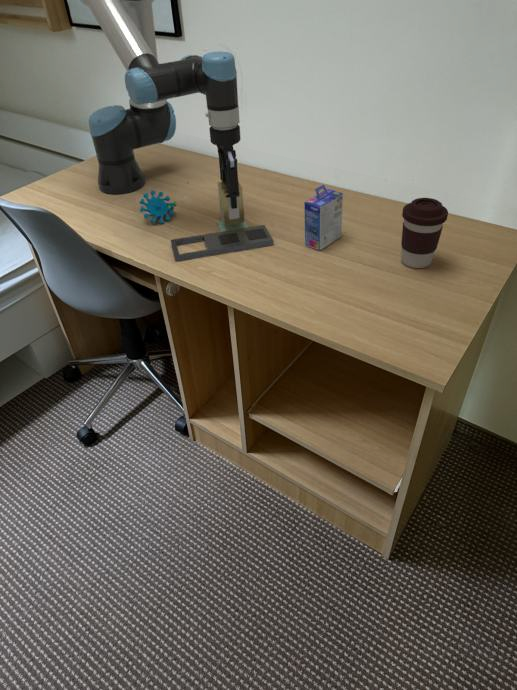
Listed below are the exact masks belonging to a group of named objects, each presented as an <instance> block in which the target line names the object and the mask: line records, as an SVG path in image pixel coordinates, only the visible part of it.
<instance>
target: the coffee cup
mask: <svg viewBox="0 0 517 690" xmlns="http://www.w3.org/2000/svg"><path fill="white" fill-rule="evenodd" d="M401 212H402V213H401V215H402V218H403V223H402V231H401V256H400V261H401V262H402V264H403V265H405V266H407V267H409V268H413V269H423V268H426V267H428V266H431V264H432V261H433V259H434V256H435V252H436V250H437V248H438V244H439V241H440V238H441V236H442V235H441V234H442V231H443V226H444V225H443V224H444V223H445V222H446V221H447V220H448V217H449V216H448V215H449V211H448V209H447V207H445V206H444V205H443V203H442V202H441V201H439V200H438V199H435V198H432V197H419V198H416V199H412V201H411V202H410V203H407V204H405V205H404V206H403V207H402V211H401Z"/></svg>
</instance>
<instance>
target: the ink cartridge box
mask: <svg viewBox="0 0 517 690" xmlns="http://www.w3.org/2000/svg"><path fill="white" fill-rule="evenodd" d="M314 190H315V193H316V195H314V196H312V197H311V198H308V200H305V201H304V244H305V247H309V248H311V249H314V250H316V251H321V250H323V249H325V248H326V247H327V246H329V245H330V244H332V243H333V242H336V241H337V240H338V239H339V238H341V237H342V227H343V225H342V224H343V203H344V201H343V200H344V193H343V192H340V191H336V190H333V189H330V188H326V186H325V184H322V185H319V187H316V188H315V189H314ZM321 190H322V191H321ZM320 191H321V192H320Z"/></svg>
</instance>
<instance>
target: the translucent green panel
mask: <svg viewBox="0 0 517 690" xmlns="http://www.w3.org/2000/svg"><path fill="white" fill-rule="evenodd" d="M216 226H217V227H218V230H219V232H222V231H229V230H235V229H241V228H247V227H249V224H248V223H247V221H246V219H245V218H244V222H243V223H237V224H230V225H225V224H224V222H223V220H218V221H216Z"/></svg>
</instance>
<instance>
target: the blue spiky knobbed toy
mask: <svg viewBox="0 0 517 690" xmlns="http://www.w3.org/2000/svg"><path fill="white" fill-rule="evenodd" d="M149 195H151V198H149ZM155 195H156V191H155V190H152V189H151V190H150V194H149V193H148V192H146V193H143V195H142V196H143V198H141V199H140V200H139V204H141V206H140V208H139V212H141V213H142V212H143V213H144V212H146V213H144V214H143V218H144V219H145V220H148V218H150V217H152V218H151V219H150V222H151V223H152V224H155V223H156V220H157V219H158V218H160V219H159V220H158V224H159V225H162V224H164V222H165V221H166V222H169V221H170V220H171V219H172V218H171V216H173V215H174V213H175V211H174V208H175V207H176V206H177V204H178V202H177V201H176V200H174V201H173V202H169V201H170V200H171V197H170V196H169V195H166V196H165V197H163V196H164V192H162V191H161V190H159V191H158V193H157V196H155ZM161 197H163V198H161ZM145 200H146V201H147V202H145ZM142 205H144V206H145V207H146V208H145V207H144V206H142ZM147 212H148V213H147ZM168 213H169V214H168ZM164 216H165V220H164Z"/></svg>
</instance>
